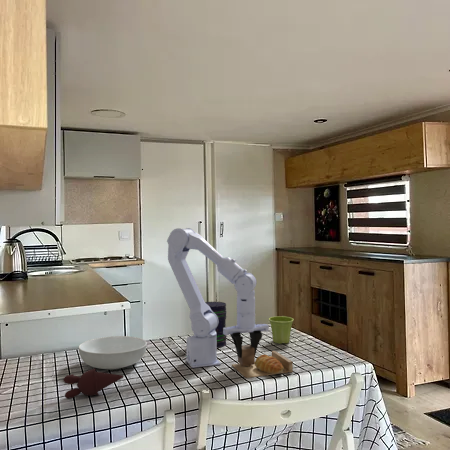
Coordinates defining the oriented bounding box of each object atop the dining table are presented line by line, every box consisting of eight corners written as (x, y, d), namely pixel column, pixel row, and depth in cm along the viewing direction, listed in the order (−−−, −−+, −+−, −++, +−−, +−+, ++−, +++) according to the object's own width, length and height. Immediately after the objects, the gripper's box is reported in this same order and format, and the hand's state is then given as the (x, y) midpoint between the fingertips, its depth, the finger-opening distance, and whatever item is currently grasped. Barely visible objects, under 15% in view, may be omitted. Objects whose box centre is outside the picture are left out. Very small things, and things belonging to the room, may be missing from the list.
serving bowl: (142, 375, 128) (142, 352, 128) (70, 377, 127) (69, 354, 127) (150, 354, 149) (150, 334, 149) (88, 356, 148) (88, 336, 148)
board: (246, 378, 125) (246, 367, 125) (231, 365, 137) (231, 355, 137) (292, 371, 130) (292, 361, 130) (275, 360, 141) (275, 350, 141)
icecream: (121, 362, 120) (63, 373, 116) (122, 363, 113) (61, 374, 109) (124, 388, 119) (65, 400, 114) (125, 391, 112) (63, 404, 107)
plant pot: (297, 340, 165) (297, 317, 165) (287, 346, 157) (287, 322, 157) (275, 337, 170) (275, 315, 170) (264, 343, 162) (264, 319, 162)
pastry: (289, 372, 129) (289, 359, 129) (272, 377, 125) (271, 364, 125) (269, 364, 137) (268, 352, 137) (252, 368, 133) (251, 356, 133)
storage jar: (195, 342, 163) (195, 303, 163) (218, 339, 168) (218, 300, 168) (207, 349, 155) (207, 307, 155) (231, 345, 159) (231, 304, 159)
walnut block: (242, 365, 133) (242, 349, 133) (237, 361, 137) (237, 346, 137) (254, 364, 135) (254, 348, 135) (249, 360, 138) (249, 344, 138)
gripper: (228, 316, 130) (228, 362, 130) (272, 313, 134) (272, 357, 134) (220, 312, 136) (221, 355, 136) (263, 309, 141) (263, 350, 141)
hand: (246, 355), depth 136 cm, fingers closed on walnut block, 4 cm apart
